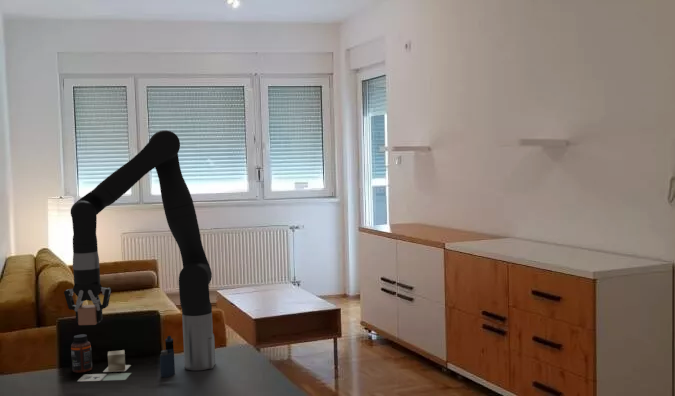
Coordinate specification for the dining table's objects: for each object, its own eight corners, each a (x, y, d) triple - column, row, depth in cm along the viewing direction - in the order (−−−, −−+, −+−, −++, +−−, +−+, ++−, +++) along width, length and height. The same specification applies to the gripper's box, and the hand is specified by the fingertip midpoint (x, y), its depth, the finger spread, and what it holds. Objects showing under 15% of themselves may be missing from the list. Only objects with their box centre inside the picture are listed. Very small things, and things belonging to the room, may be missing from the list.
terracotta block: (100, 320, 233) (99, 304, 233) (95, 324, 228) (94, 308, 228) (83, 321, 233) (83, 305, 233) (78, 325, 228) (77, 308, 228)
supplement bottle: (95, 368, 243) (93, 333, 242) (87, 373, 237) (85, 337, 237) (77, 368, 244) (75, 333, 243) (69, 373, 238) (67, 338, 237)
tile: (131, 366, 244) (131, 364, 244) (125, 372, 237) (125, 371, 237) (109, 366, 244) (109, 365, 244) (102, 373, 237) (102, 372, 237)
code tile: (107, 374, 235) (107, 373, 235) (100, 381, 228) (100, 380, 228) (84, 375, 235) (84, 374, 235) (76, 382, 228) (76, 381, 228)
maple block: (125, 365, 244) (124, 350, 244) (125, 369, 239) (124, 354, 239) (108, 367, 242) (108, 351, 242) (108, 371, 238) (107, 355, 237)
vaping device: (176, 374, 234) (175, 335, 233) (166, 379, 229) (164, 339, 228) (169, 373, 235) (168, 335, 234) (159, 378, 230) (157, 339, 229)
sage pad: (131, 374, 235) (131, 372, 235) (125, 381, 228) (125, 379, 228) (108, 374, 235) (108, 373, 235) (102, 381, 228) (102, 380, 228)
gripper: (113, 264, 233) (116, 319, 234) (66, 265, 233) (69, 320, 234) (106, 268, 226) (109, 324, 227) (58, 269, 226) (61, 326, 227)
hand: (89, 322), depth 231 cm, fingers closed on terracotta block, 5 cm apart
